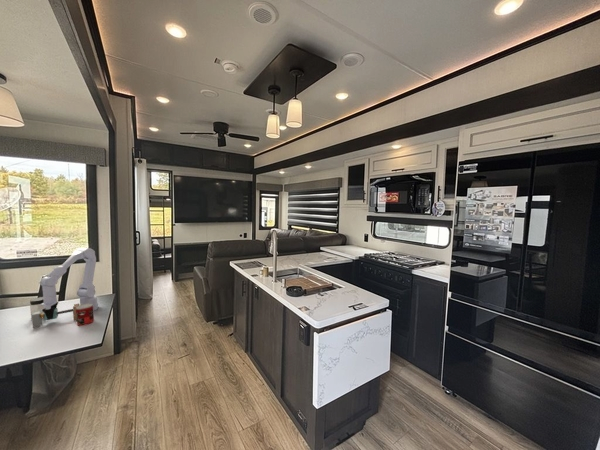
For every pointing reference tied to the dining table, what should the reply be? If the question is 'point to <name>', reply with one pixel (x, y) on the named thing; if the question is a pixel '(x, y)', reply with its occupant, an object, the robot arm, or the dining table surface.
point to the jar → (36, 305)
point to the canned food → (84, 314)
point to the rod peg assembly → (38, 316)
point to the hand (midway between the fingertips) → (51, 316)
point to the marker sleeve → (53, 315)
